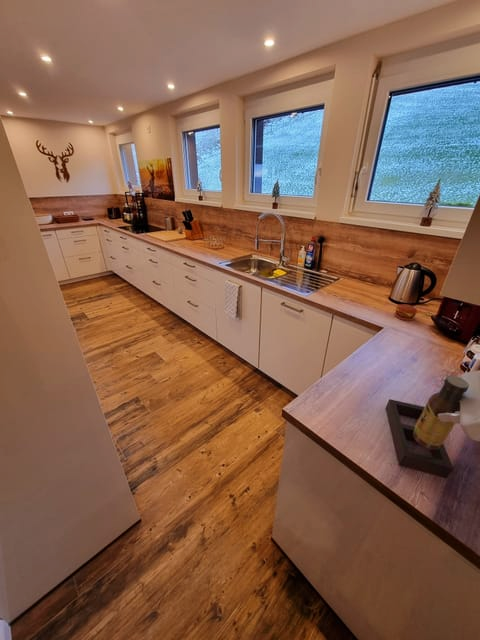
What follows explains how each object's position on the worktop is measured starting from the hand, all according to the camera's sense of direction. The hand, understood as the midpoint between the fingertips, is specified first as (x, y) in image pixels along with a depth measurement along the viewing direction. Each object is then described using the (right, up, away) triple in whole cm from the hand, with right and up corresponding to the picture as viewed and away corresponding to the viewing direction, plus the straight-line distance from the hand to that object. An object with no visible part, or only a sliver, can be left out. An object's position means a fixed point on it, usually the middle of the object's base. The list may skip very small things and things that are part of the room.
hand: (440, 406), depth 61 cm
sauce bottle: (0, -10, +5) cm, 12 cm away
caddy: (+1, -13, +12) cm, 18 cm away
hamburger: (+40, +22, +77) cm, 90 cm away
